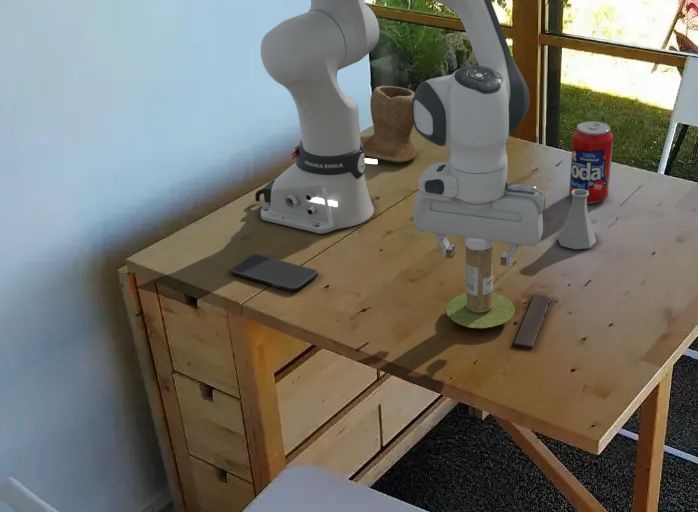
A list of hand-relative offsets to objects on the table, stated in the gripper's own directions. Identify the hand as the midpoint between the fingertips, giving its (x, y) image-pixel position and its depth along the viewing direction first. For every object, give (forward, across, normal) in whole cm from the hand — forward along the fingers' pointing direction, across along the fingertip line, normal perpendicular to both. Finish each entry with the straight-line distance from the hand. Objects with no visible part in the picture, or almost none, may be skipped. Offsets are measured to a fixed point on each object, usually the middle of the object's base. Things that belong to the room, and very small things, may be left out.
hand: (477, 260), depth 149 cm
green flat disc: (+11, -1, +1) cm, 11 cm away
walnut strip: (+10, -9, 0) cm, 14 cm away
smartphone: (+11, +38, -4) cm, 40 cm away
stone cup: (+11, +37, -60) cm, 71 cm away
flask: (+11, -11, -30) cm, 34 cm away
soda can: (+11, -10, -49) cm, 51 cm away
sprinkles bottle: (+9, 0, 0) cm, 9 cm away
